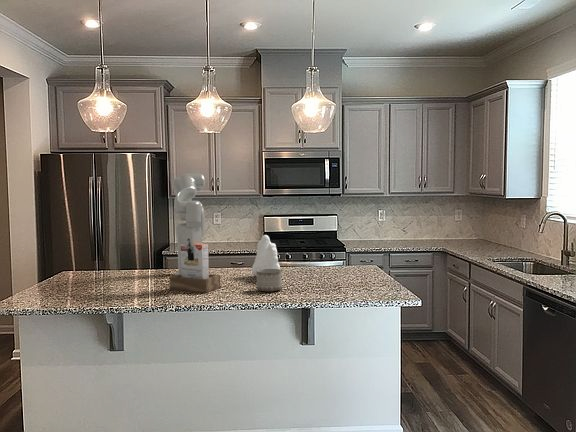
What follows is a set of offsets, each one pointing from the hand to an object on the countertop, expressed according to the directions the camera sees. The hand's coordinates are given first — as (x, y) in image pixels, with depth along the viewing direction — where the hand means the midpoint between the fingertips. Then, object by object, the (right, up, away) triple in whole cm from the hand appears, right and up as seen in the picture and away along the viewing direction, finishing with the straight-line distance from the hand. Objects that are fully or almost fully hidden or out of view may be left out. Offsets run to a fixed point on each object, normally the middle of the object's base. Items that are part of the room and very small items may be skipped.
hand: (194, 259), depth 268 cm
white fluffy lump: (+37, -14, +28) cm, 48 cm away
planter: (+39, -16, -5) cm, 43 cm away
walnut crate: (0, -16, +1) cm, 16 cm away
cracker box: (0, -13, +1) cm, 13 cm away
